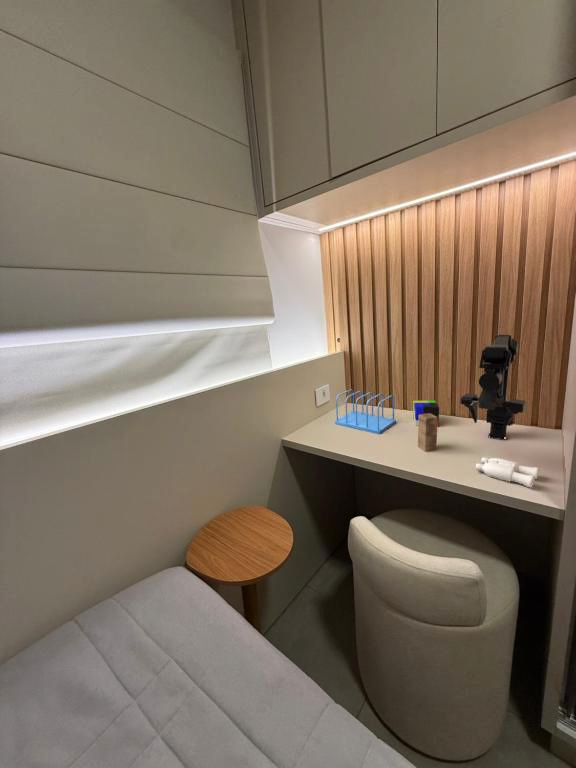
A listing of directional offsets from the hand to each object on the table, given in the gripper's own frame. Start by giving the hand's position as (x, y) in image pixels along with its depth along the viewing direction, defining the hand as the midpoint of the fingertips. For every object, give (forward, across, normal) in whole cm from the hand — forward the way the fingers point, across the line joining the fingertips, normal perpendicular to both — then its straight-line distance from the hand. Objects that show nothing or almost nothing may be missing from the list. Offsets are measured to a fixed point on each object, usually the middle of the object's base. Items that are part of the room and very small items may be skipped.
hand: (490, 425), depth 114 cm
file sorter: (+15, -56, +8) cm, 59 cm away
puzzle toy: (+15, -33, +25) cm, 43 cm away
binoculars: (+15, +7, -7) cm, 18 cm away
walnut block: (+14, -21, -2) cm, 25 cm away
